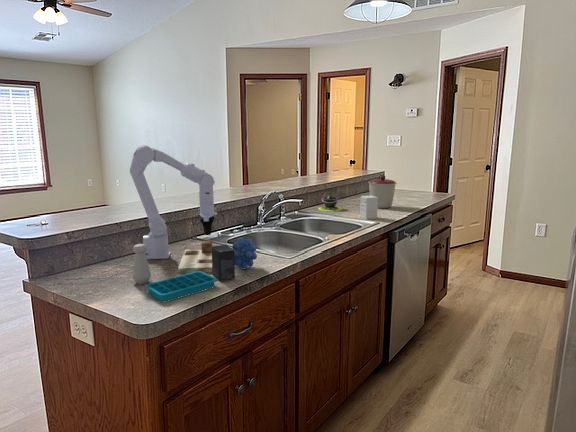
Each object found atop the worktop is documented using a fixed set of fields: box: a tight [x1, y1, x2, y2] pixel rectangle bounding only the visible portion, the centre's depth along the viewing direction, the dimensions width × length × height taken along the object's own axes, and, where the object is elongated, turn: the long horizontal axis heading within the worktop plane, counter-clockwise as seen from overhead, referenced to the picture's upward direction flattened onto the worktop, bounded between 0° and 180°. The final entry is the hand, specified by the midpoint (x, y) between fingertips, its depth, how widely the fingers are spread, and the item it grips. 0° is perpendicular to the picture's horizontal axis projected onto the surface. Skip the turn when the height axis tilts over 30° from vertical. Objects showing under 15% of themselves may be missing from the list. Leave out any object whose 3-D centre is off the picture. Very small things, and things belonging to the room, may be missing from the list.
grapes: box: [231, 237, 258, 270], centre depth 154 cm, size 12×7×12 cm, turn 134°
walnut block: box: [200, 240, 213, 253], centre depth 169 cm, size 4×4×4 cm
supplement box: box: [359, 195, 378, 221], centre depth 242 cm, size 7×7×13 cm
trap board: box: [177, 249, 212, 275], centre depth 162 cm, size 12×23×2 cm, turn 7°
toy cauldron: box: [318, 191, 343, 212], centre depth 269 cm, size 15×15×11 cm
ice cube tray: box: [145, 271, 218, 302], centre depth 135 cm, size 12×20×3 cm, turn 133°
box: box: [211, 244, 236, 282], centre depth 146 cm, size 8×6×11 cm
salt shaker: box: [131, 243, 152, 285], centre depth 140 cm, size 6×6×13 cm
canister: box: [367, 174, 398, 209], centre depth 275 cm, size 18×18×21 cm
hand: (207, 234), depth 175 cm, fingers closed
